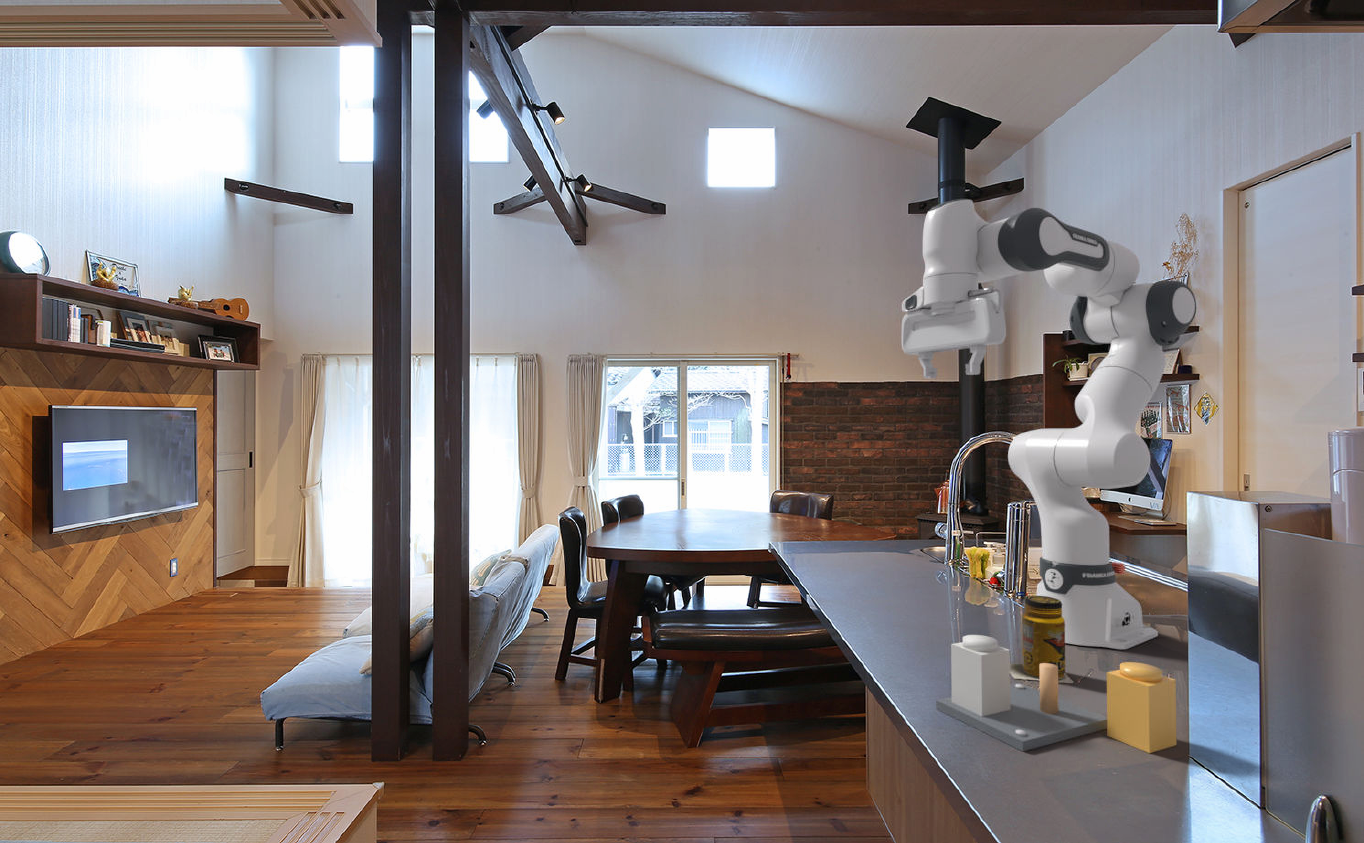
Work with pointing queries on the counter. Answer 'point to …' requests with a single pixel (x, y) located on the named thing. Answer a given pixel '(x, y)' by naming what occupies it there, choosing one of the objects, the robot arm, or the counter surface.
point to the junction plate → (1011, 699)
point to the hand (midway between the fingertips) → (950, 376)
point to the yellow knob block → (1141, 707)
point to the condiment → (1042, 638)
